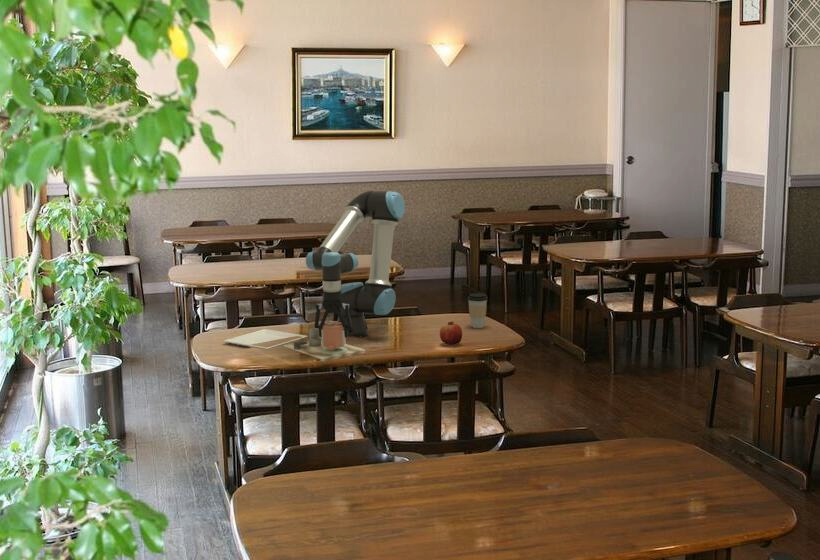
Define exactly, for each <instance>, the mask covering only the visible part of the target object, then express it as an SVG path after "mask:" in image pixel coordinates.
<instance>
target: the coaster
mask: <svg viewBox="0 0 820 560" xmlns="http://www.w3.org/2000/svg"><path fill="white" fill-rule="evenodd" d="M346 352H347V348H344V347H339V348H334V349H333V350H328V348H327V347H326V348H323V349H321V353H323V354H329V355H335V354H343V353H346Z"/></svg>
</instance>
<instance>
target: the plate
mask: <svg viewBox="0 0 820 560" xmlns="http://www.w3.org/2000/svg"><path fill="white" fill-rule="evenodd" d="M293 337H298V338H294V339H292V340H288V341H285V342H281V343H278V344H275V345H272V346H268V347H265V346H260V345H255V344H261V343H266V342H271V341H272V342H273V341H277V340H282V339H287V338H293ZM305 338H309V335H305V334H297V333H292V332H286V331H280V330H275V329H274V330H273V329H267V328H263V329H260V330H257V331H254V332H253V331H252V332H249V333H246V334H242V335H240V336H239V335H238V336H235V337H231V338H228V339H225V340H223V342H224V343H227V344H230V343H231V345H235V344H236V346H240V345H241V346H242V347H246V346H247V348H250V347H251V348H252V347H253V348H258V349H264V350H269V349H272V348H276V347H279V346H283V345H287V344H290V343H292V342H297V341H300V340H303V339H305ZM241 346H240V347H241Z"/></svg>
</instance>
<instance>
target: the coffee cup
mask: <svg viewBox="0 0 820 560" xmlns="http://www.w3.org/2000/svg"><path fill="white" fill-rule="evenodd" d="M466 299H467V301H468V311H469V318H470V327H471V328H472V327H473V329H483V328H485V323H486V317H487V316H486V315H487V308H488V307H487V306H488V305H487V303H488V300H489V297H488V296H487V293H481V292H478V293H477V292H475V293H469V294H468V297H467V298H466Z"/></svg>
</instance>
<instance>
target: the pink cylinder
mask: <svg viewBox="0 0 820 560" xmlns="http://www.w3.org/2000/svg"><path fill="white" fill-rule="evenodd" d="M322 329H323V345H324V347H327V348H328V350H333V349H334V348H339V347H343V334H342V330H343V329H344V328H343V326H342V323H340V322H337V321H331V322H330V321H329V322H325V323H324V324H323V328H322Z"/></svg>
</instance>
